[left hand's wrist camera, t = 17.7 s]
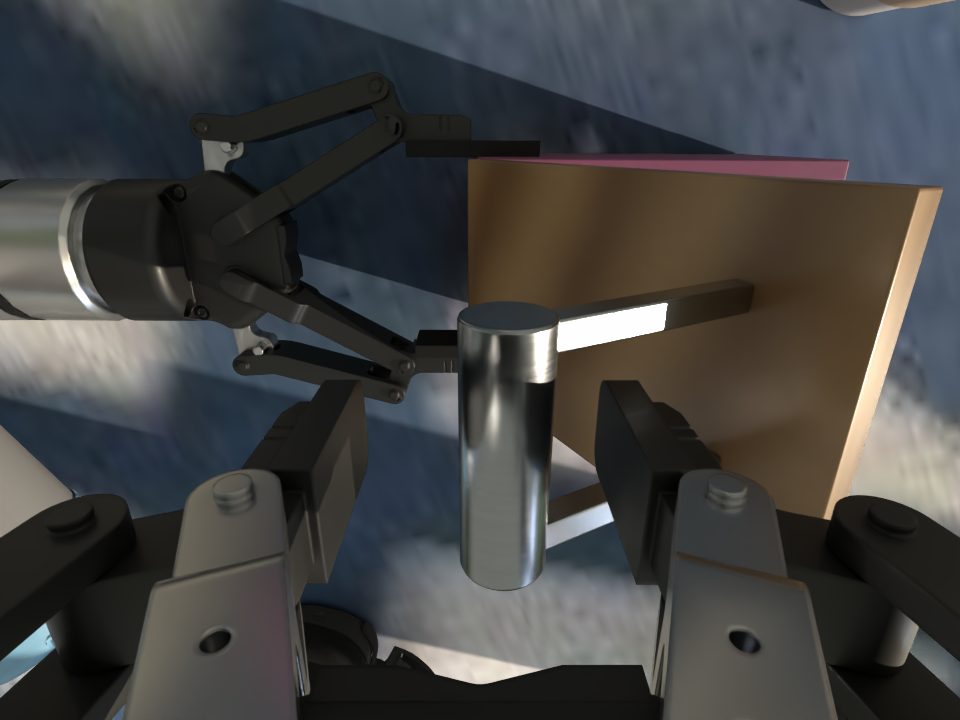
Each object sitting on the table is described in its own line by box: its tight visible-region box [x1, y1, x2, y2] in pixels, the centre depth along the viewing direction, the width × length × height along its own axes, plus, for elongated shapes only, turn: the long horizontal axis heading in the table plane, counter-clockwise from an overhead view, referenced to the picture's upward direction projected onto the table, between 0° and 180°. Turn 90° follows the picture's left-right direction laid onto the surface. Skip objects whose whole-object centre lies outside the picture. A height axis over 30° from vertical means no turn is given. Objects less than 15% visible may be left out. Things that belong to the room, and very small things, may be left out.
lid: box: [457, 159, 943, 591], centre depth 17 cm, size 17×10×8 cm
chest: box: [477, 153, 849, 180], centre depth 31 cm, size 16×10×11 cm, turn 90°
